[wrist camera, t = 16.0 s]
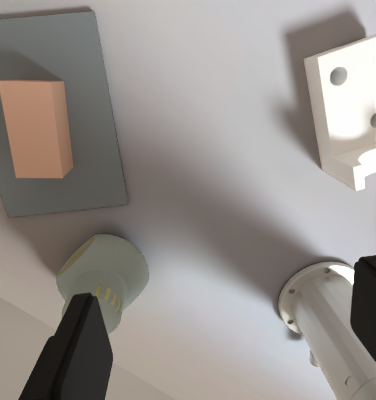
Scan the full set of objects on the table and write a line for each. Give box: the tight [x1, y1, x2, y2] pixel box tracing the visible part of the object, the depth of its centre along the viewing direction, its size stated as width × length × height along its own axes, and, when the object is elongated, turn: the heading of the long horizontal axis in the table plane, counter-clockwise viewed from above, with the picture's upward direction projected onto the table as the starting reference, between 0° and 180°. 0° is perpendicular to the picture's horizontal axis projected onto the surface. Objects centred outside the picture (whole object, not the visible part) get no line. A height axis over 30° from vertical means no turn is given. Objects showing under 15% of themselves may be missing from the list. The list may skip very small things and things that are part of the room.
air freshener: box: [56, 234, 149, 334], centre depth 36 cm, size 11×8×10 cm
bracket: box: [304, 35, 376, 191], centre depth 32 cm, size 13×7×8 cm, turn 18°
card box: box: [0, 80, 73, 178], centre depth 31 cm, size 4×9×4 cm, turn 178°
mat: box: [0, 11, 128, 218], centre depth 33 cm, size 20×14×1 cm
